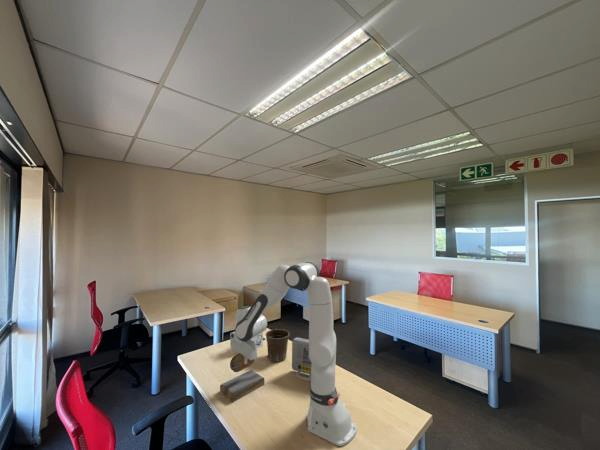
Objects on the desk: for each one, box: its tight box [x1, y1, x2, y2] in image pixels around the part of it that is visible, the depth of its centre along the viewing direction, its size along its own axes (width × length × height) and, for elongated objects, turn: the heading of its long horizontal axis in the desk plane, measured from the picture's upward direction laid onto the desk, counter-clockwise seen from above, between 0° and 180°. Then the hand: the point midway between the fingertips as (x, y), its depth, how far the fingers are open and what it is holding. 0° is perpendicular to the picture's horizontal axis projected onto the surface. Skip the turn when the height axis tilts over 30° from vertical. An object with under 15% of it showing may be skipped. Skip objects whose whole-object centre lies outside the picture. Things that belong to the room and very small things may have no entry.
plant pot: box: [265, 328, 290, 363], centre depth 167 cm, size 16×16×16 cm
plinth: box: [219, 369, 265, 403], centre depth 134 cm, size 12×20×4 cm, turn 137°
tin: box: [229, 353, 256, 373], centre depth 134 cm, size 15×3×8 cm, turn 137°
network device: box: [291, 337, 312, 382], centre depth 145 cm, size 26×9×20 cm, turn 65°
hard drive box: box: [252, 331, 264, 349], centre depth 181 cm, size 16×8×20 cm, turn 147°
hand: (243, 362), depth 134 cm, fingers closed on tin, 2 cm apart
